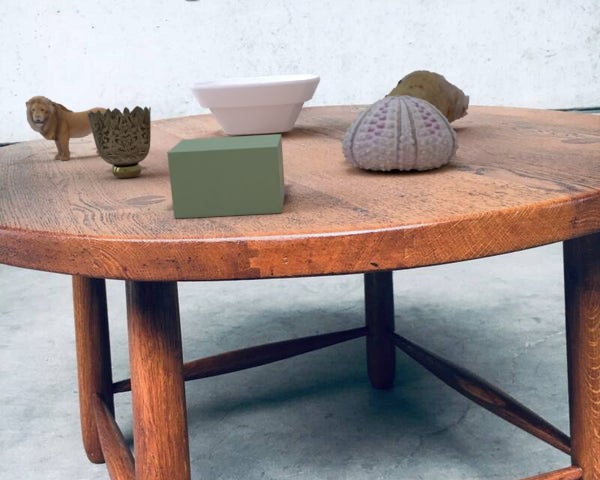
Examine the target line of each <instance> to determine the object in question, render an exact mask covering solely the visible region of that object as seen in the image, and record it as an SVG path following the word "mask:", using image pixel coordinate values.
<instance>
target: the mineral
mask: <svg viewBox="0 0 600 480" xmlns="http://www.w3.org/2000/svg"><path fill="white" fill-rule="evenodd" d="M396 84H397V85H396V86H394V87H393V88H392V90H390V91H389V93H388V94H385V95H384V97H383V98H385V97H387V96H403V95H408V96H411V97H414V98H419V99H422V100H425V101H428V103H430V104H432V105H433V106H435V107H436V108H437V109H438V110H439V111H440V112H441V113H442V115H443V116H445V118H446V119H447V120H448V122H449V123H450V124H452V123H453V122H455V121H457V120H460V119H463V118H465V116H467V115H469V113H468V111H467V110H468V109H469V104H470V95H468V94H467V95H465V92H464V91H463V89H461V88H459V87H458V86H456V84H453V83H452V82H449V81H448V80H447V79H446V77H444V75H442V74H439V73H438V72H435V71H430V70H425V69H423V70H422V69H419V70H414V71H411V72H410V73H407V74H406V75H404V76H403V77H402V78H401V79H400V80H399V81H398V82H397V83H396ZM378 100H381V99H378Z"/></svg>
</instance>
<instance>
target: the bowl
mask: <svg viewBox="0 0 600 480" xmlns="http://www.w3.org/2000/svg"><path fill="white" fill-rule="evenodd" d="M320 82H321V76H320V75H319V74H313V73H300V74H299V73H298V74H280V75H262V76H245V77H244V76H243V77H229V78H216V79H205V80H200V81H199V80H198V81H195V82H191V83H190V84H189V90H190V91H191V93H192V95H193V96H194V97H195V99H196V101H197V103H198V104H199V105H200V107H201V108H203V109H208V110H209V111H210V112H211V114H212V116H213V117H214V118H215V120H216V122H217V123H218V125H219V126H220V128H221V129H222V131H223V133H224V134H225V135H227V136H240V135H243V136H246V135H265V134H276V133H278V134H279V133H285V132H288V131H291V130H292V129H293V128H294V127H295V124H296V122H297V120H298V117H299V115H300V113H301V111H302V110H303V109H302V108H303V107H304V105H305V103H306V102H308V101H311V100H312V99H313V97H314V95H315V93H316V90H317V89H318V86H319V84H320Z"/></svg>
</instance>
